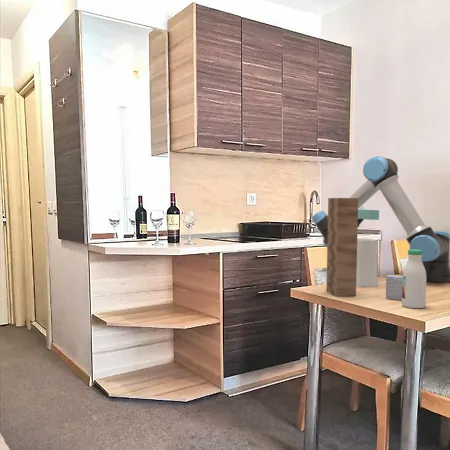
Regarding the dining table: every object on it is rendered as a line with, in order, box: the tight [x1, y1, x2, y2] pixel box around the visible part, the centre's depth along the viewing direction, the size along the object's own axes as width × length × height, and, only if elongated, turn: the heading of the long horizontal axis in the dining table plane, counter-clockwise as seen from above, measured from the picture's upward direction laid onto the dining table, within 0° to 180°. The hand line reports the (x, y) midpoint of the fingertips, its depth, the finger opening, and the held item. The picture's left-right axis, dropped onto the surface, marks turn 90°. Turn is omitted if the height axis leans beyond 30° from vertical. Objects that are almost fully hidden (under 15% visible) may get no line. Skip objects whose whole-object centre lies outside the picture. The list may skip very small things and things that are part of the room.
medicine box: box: [385, 274, 403, 301], centre depth 164 cm, size 8×4×9 cm, turn 58°
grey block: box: [356, 238, 379, 288], centre depth 192 cm, size 10×8×20 cm
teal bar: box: [358, 208, 380, 221], centre depth 191 cm, size 22×4×4 cm, turn 9°
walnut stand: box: [326, 197, 359, 298], centre depth 171 cm, size 10×8×38 cm
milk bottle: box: [401, 248, 427, 309], centre depth 152 cm, size 8×8×20 cm
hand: (359, 207), depth 194 cm, fingers closed on teal bar, 4 cm apart
